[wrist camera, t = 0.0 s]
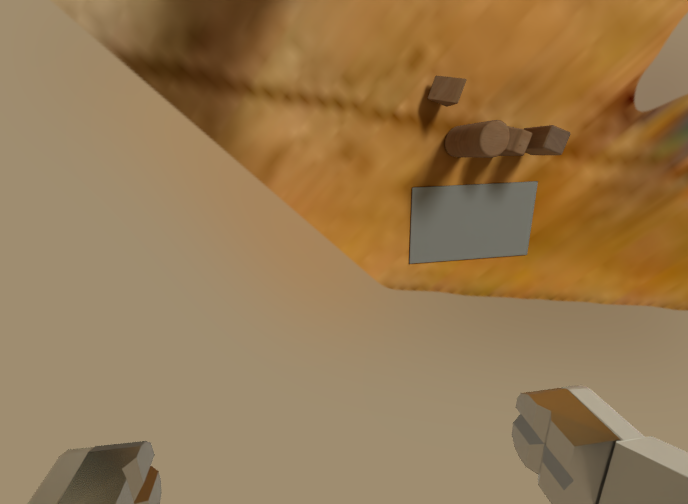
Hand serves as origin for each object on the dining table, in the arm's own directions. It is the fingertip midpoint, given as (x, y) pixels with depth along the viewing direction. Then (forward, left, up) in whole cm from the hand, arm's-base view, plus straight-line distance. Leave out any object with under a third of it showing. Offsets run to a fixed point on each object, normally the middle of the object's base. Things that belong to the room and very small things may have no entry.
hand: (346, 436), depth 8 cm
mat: (+9, +27, -47) cm, 55 cm away
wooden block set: (-4, +26, -48) cm, 54 cm away
